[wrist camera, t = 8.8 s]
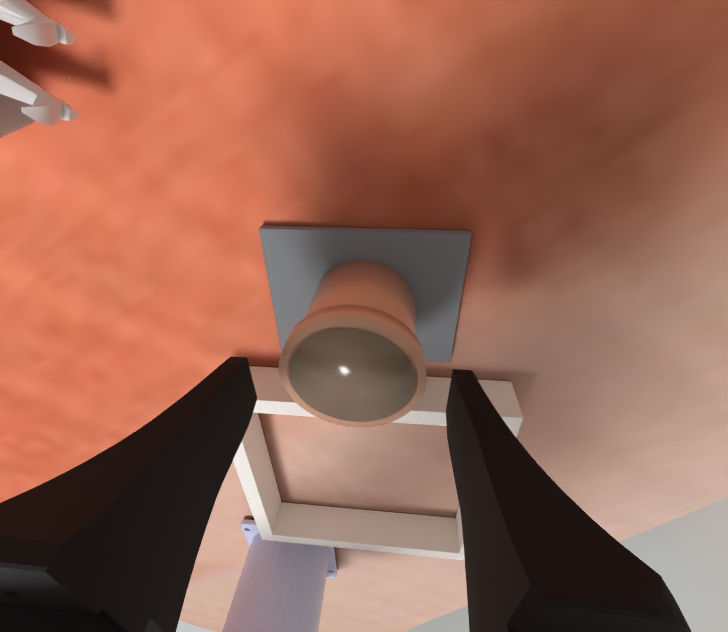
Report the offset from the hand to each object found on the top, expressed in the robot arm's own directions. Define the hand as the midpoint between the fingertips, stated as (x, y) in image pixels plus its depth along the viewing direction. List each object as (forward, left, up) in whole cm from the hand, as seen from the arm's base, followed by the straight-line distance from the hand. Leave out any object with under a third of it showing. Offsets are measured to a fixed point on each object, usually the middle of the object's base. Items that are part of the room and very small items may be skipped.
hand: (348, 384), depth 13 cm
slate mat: (0, 0, -6) cm, 6 cm away
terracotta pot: (0, 0, -5) cm, 5 cm away
